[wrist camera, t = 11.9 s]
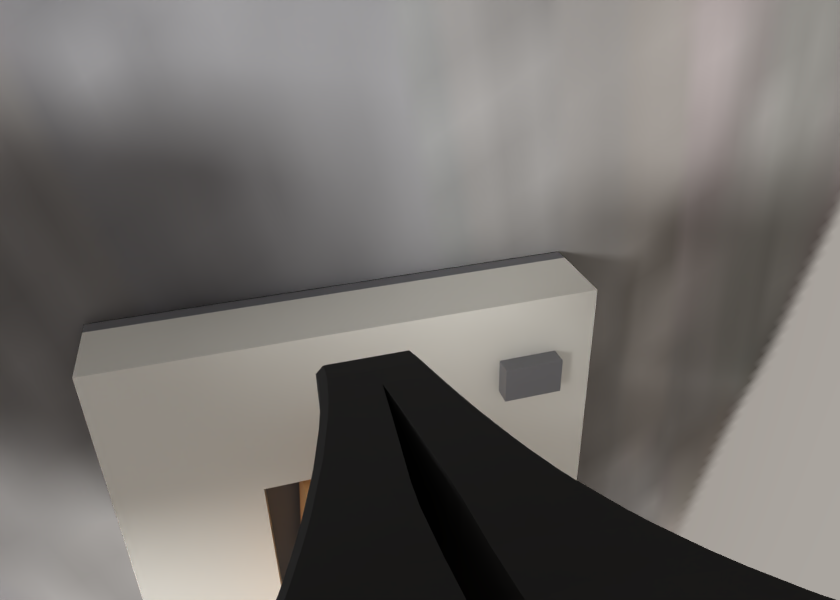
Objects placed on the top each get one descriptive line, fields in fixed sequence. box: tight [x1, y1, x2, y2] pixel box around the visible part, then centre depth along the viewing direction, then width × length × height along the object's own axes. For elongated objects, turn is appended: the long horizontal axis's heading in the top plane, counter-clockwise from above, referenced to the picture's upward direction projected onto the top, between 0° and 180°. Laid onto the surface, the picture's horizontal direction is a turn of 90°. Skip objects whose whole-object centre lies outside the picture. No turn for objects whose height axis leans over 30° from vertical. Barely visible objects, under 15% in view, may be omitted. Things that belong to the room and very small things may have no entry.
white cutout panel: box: [72, 252, 597, 600], centre depth 23 cm, size 13×16×3 cm
